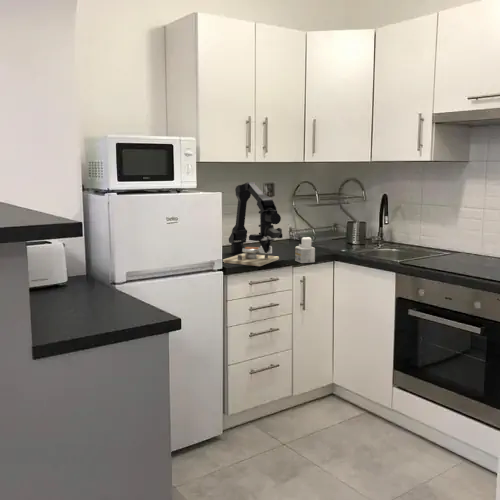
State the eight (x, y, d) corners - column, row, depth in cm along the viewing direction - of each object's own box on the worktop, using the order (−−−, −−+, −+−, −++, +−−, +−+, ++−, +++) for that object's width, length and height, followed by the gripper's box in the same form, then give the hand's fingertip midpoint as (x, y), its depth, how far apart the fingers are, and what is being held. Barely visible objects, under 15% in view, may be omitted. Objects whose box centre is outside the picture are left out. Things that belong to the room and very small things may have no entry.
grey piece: (240, 253, 288) (240, 246, 287) (245, 250, 296) (245, 244, 296) (269, 254, 283) (269, 247, 283) (273, 251, 292) (273, 245, 291)
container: (295, 260, 291) (295, 236, 289) (308, 259, 294) (308, 235, 291) (301, 263, 284) (301, 238, 282) (315, 262, 286) (315, 237, 284)
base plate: (222, 262, 287) (222, 253, 286) (243, 256, 306) (243, 247, 305) (259, 266, 277) (259, 256, 276) (279, 259, 296) (279, 250, 295)
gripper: (262, 225, 271) (263, 256, 273) (290, 222, 283) (290, 252, 285) (248, 223, 279) (248, 254, 281) (275, 221, 291) (275, 250, 293)
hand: (266, 253), depth 285 cm, fingers closed
